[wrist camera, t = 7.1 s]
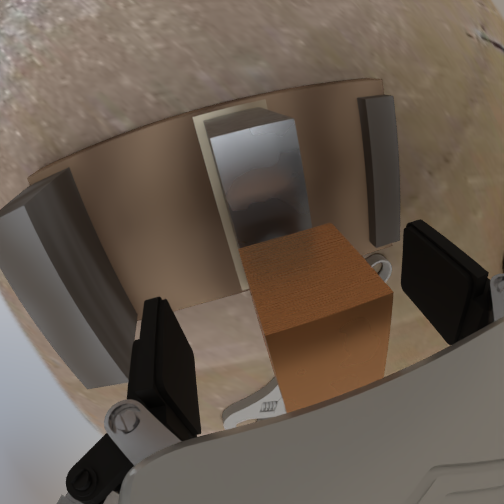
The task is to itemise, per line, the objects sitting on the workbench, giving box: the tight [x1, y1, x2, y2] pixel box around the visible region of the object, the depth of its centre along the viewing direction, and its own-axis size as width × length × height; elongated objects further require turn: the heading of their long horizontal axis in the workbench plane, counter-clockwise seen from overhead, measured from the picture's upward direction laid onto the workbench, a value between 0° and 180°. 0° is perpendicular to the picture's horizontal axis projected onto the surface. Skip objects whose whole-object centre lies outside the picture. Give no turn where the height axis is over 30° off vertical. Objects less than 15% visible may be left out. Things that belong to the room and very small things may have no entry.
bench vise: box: [0, 78, 400, 389], centre depth 17 cm, size 22×12×8 cm, turn 103°
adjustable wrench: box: [222, 254, 392, 430], centre depth 30 cm, size 25×6×2 cm, turn 146°
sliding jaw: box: [203, 107, 393, 413], centre depth 13 cm, size 3×11×12 cm, turn 13°
